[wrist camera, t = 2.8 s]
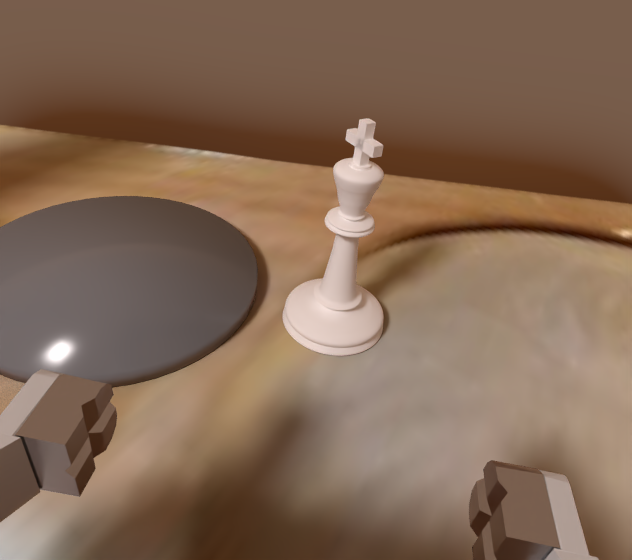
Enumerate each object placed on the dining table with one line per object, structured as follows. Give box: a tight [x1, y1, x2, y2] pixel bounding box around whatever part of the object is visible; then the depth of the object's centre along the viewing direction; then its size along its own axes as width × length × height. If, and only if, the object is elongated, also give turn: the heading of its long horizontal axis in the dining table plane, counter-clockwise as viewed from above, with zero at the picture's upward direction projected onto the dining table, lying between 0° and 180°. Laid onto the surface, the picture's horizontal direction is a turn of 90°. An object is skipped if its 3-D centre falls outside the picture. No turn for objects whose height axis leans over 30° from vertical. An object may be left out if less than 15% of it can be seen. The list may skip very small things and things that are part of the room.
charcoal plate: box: [0, 196, 258, 387], centre depth 26 cm, size 14×14×1 cm
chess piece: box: [283, 118, 384, 356], centre depth 22 cm, size 5×5×10 cm
